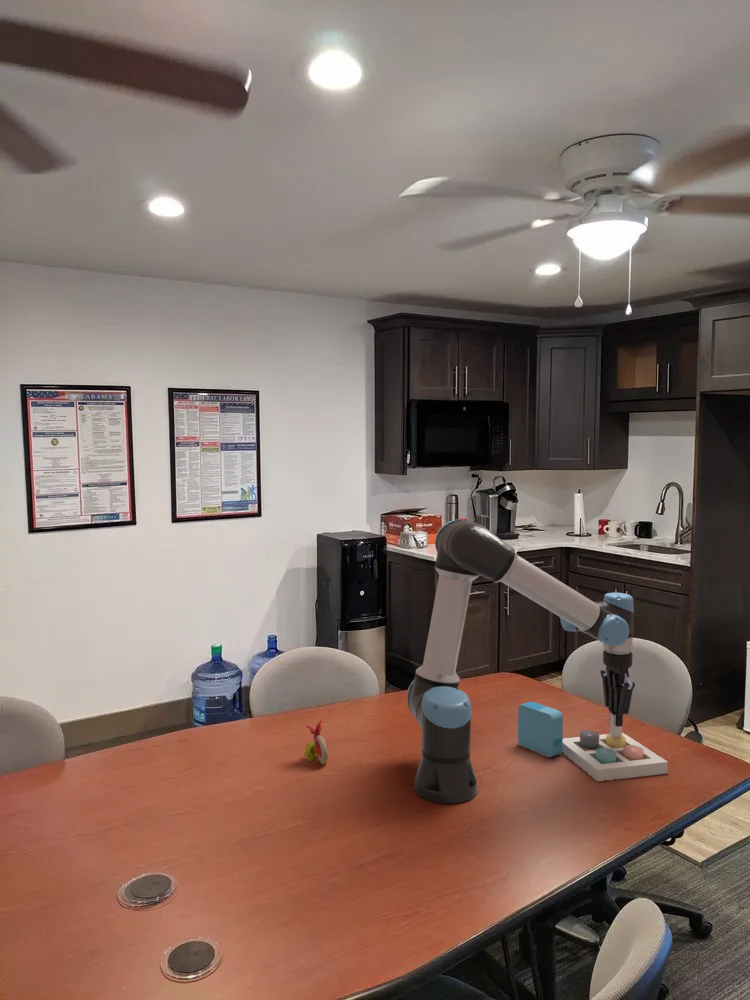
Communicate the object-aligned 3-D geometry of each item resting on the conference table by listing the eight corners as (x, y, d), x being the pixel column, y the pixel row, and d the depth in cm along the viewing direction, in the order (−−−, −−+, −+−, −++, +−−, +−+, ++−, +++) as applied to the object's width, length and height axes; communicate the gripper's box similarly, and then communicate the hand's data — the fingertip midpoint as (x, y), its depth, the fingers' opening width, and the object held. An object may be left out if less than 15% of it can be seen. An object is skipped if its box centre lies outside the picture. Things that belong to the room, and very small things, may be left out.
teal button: (602, 769, 180) (602, 756, 180) (591, 761, 185) (592, 749, 185) (619, 767, 181) (620, 754, 181) (608, 759, 186) (609, 747, 186)
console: (597, 781, 176) (597, 769, 176) (557, 749, 195) (558, 739, 195) (667, 773, 181) (667, 761, 181) (622, 743, 200) (622, 732, 200)
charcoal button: (585, 750, 188) (586, 738, 188) (576, 742, 193) (576, 731, 192) (602, 748, 189) (603, 736, 189) (592, 741, 194) (592, 729, 194)
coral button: (630, 765, 182) (630, 753, 182) (619, 757, 187) (619, 746, 187) (647, 763, 183) (647, 751, 183) (635, 756, 188) (636, 744, 188)
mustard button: (612, 753, 190) (612, 741, 190) (602, 746, 195) (602, 734, 194) (629, 751, 191) (629, 740, 191) (618, 744, 196) (618, 733, 196)
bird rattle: (334, 769, 187) (320, 745, 194) (342, 737, 183) (327, 713, 190) (313, 775, 184) (299, 750, 191) (320, 742, 180) (306, 718, 187)
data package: (562, 755, 192) (563, 711, 191) (552, 759, 189) (552, 715, 188) (527, 741, 201) (528, 699, 201) (517, 745, 198) (517, 703, 198)
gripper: (644, 656, 186) (642, 744, 187) (616, 643, 198) (614, 726, 200) (619, 658, 184) (617, 747, 185) (592, 645, 197) (590, 728, 198)
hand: (615, 736), depth 193 cm, fingers closed
